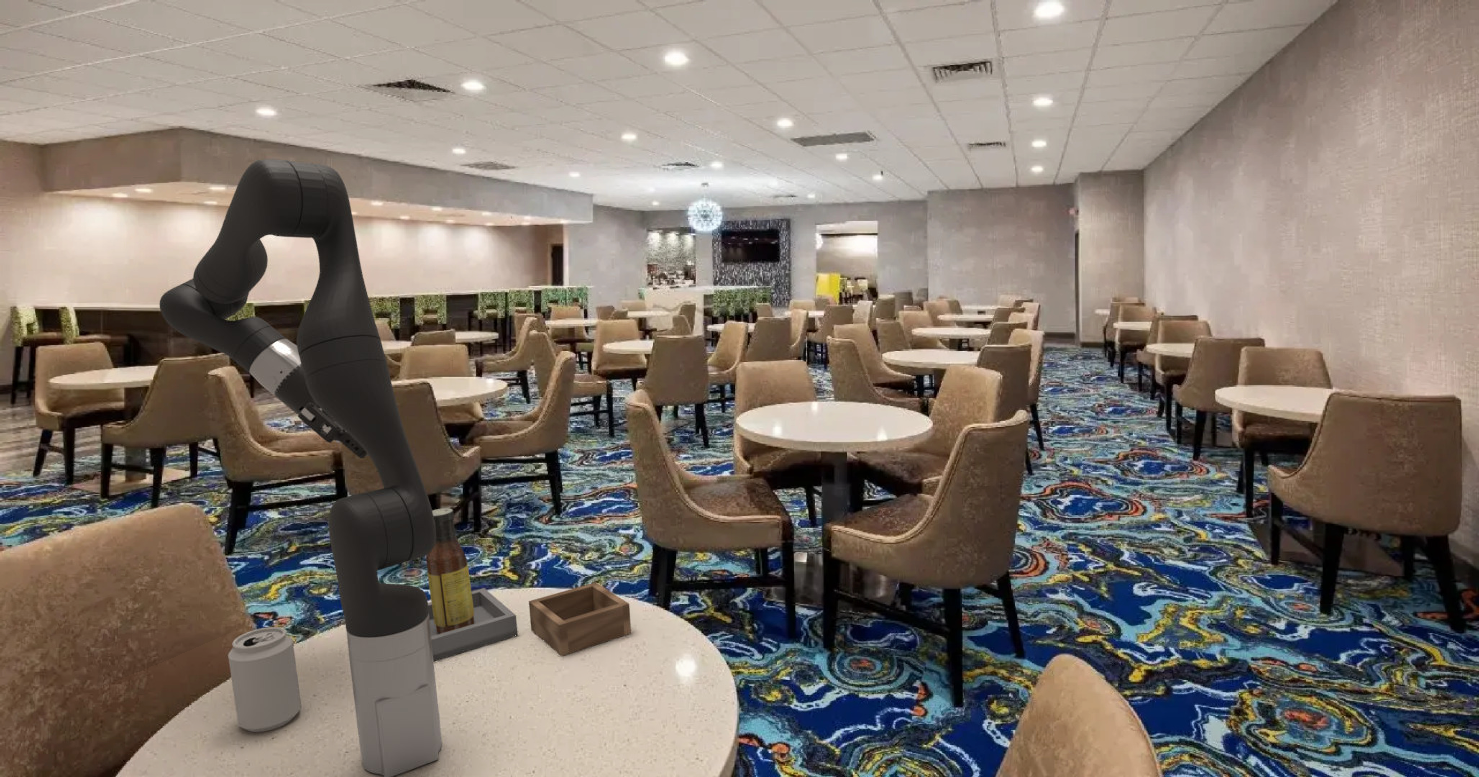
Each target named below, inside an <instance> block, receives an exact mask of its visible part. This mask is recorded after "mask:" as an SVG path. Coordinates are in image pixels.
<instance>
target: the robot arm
mask: <svg viewBox="0 0 1479 777" xmlns="http://www.w3.org/2000/svg"><path fill="white" fill-rule="evenodd" d="M352 213H353V212H352V208H351V202H350V199H349V194H348V191H347V188H346V185H345V183H344V180H343V179H342V177H341V175H340V174H339V172H338V171H336V170H335V169H334V168H333V167H331V166H328V165H324V164H321V163H320V164H319V163H311V162H304V161H294V160H286V159H285V160H284V159H278V158H277V159H276V158H275V159H274V158H265V159H257V160H255V161H254V162H252V163H251V164H250V165H248V167H247V168H246V169H245V171H244V172H243V174H242V175H241V178H240V179H239V181H238V184H237V187H236V188H235V191H234V193H233V196H232V199H231V201H230V204H229V207H228V209H227V211H226V214H225V216H224V220H223V222H222V225H221V228H220V231H219V232H218V235H217V237H216V240H215V241H214V243H213V244H212V245H211V247H209V249H208V250H207V252H206V253H205V254H204V256H202V257H201V259H200V260H199V262H198V263H197V265H196V267H195V268H194V272H193V276H192V278H190V279H189V280H187V281H185V282H183V283H180V284H179V285H177V286H174V287H172V288H171V289H169V290H167V291H166V292H164V293H163V294H162V296H161V298H160V300H159V310H160V314H161V315H162V317H163V319H164V320H165V322H167V324H168V325H169V326H170V327H172V328H173V330H175V331H176V332H178V333H180V334H182V335H183V336H185V337H187V338H190V339H192V340H194V341H196V342H198V343H200V344H202V345H204V346H207V347H209V348H210V349H213V350H215V351H218V352H220V353H222V354H224V355H226V356H228V357H229V358H230V359H232V360H233V361H234V362H235V363H237V364H238V365H239V366H240V367H241V368H243V369H244V370H245V371H247V372H248V373H249V374H250V375H251V376H252V377H253V378H254V379H255V380H256V381H257V382H258V383H259V384H260V385H261V386H262V387H264V389H265V390H267V391H268V392H269V393H271V394H272V395H273V396H274V397H276V398H277V399H278V400H279V401H280V402H281V403H283V404H284V405H286V407H288V408H289V409H290V410H291V411H292V412H293V413H295V414H297V417H298V418H299V420H301V422H303V423H304V424H305V425H306V426H308V427H309V428H310V429H311V430H312V431H313V432H315V433H316V434H317V435H318V436H319V437H321V438H322V439H323V440H324V441H325V442H326V443H329V444H330V443H331V444H332V443H333V441H334V442H335V443H337V444H342V445H343V446H344V447H346V448H347V449H348V450H350V451H351V452H352V453H353V454H355V455H356V456H357V457H358V458H360V459H364V458H366V457H369V458H370V459H371V461H372V463H373V465H374V467H375V469H376V471H377V472H378V475H379V478H380V480H381V481H380V482H381V483H382V486H383V488H381V489H376V490H375V489H374V490H370V491H366V492H363V493H358V494H354V495H353V494H352V495H349V496H346V497H341V498H339V499H337V500H335V501H334V503H333V504H332V506H331V508H330V511H329V513H328V535H329V542H330V547H331V552H332V557H333V562H334V563H333V564H334V568H335V573H336V580H337V586H338V593H339V599H340V605H341V608H342V612H343V617H344V618H343V619H344V622H345V632H346V640H347V650H348V658H349V665H350V666H349V667H350V675H351V684H352V691H353V700H354V709H355V719H356V725H357V726H356V727H357V733H358V734H357V735H358V740H359V741H358V742H359V748H360V759H361V765H362V767H363V769H365V770H366V771H367V772H370V773H372V774H375V775H376V774H377V775H381V776H382V777H395V776H398V775H401V774H404V773H406V772H408V771H411V770H414V769H417V768H420V767H421V766H425V765H427V764H430V763H433V762H435V761H437V760H438V759H439V753H440V750H441V749H442V745H443V742H442V741H443V740H442V732H441V731H442V730H441V729H442V728H441V721H440V720H441V719H440V711H439V702H438V693H437V691H438V690H437V682H436V671H435V661H434V660H433V651H432V641H431V630H430V620H429V610H428V603H429V602H428V596H427V594H426V593H425V591H424V590H422V588H419V587H417V586H414V585H410V584H409V585H408V584H398V583H384V582H383V583H382V582H380V581H379V576H378V571H380V570H383V569H384V570H385V569H386V568H390V567H393V566H396V565H400V564H403V563H406V562H410V561H413V560H416V559H420V558H423V557H426V555H427V554H428V553H430V552H431V550H432V549H433V547H434V544H435V538H436V530H435V521H434V516H433V512H432V511H433V509H432V506H431V502H430V500H429V499H430V498H429V496H428V494H427V493H428V492H427V490H426V487H425V484H424V482H423V479H422V477H421V474H420V471H419V468H418V466H417V463H416V461H415V458H414V454H413V451H412V449H411V447H410V444H409V441H408V438H407V435H406V432H405V429H404V424H403V422H402V419H401V415H400V411H399V407H398V404H397V399H396V395H395V392H394V388H393V383H392V380H391V379H392V378H391V376H390V371H389V366H388V362H387V359H386V355H385V351H384V347H383V344H382V340H381V337H380V333H379V331H378V327H377V324H376V321H375V318H374V313H373V310H372V307H371V303H370V299H369V295H368V291H367V286H366V283H365V280H364V275H363V271H362V265H361V259H360V254H359V249H358V244H357V243H358V242H357V236H356V230H355V225H354V218H353V214H352ZM266 236H275V237H282V238H304V239H305V238H306V239H308V238H309V239H312V240H313V241H314V244H315V246H316V251H317V256H318V263H319V274H318V279H317V283H316V286H315V288H314V291H313V294H312V297H311V298H310V300H309V302H308V304H307V307H306V309H305V311H304V314H303V316H302V319H301V321H300V324H299V326H298V331H297V333H296V344H295V343H293V342H292V341H290V340H289V339H288V338H286V337H285V336H283V335H282V334H281V333H280V332H279V331H278V330H277V329H275V328H274V326H271V324H270V323H268V322H267V321H265V320H264V319H263V318H261V317H259V316H249V317H245V318H241V319H240V318H239V319H237V320H229V319H228V318H230V317H232V316H234V315H235V314H237V313H238V312H239V311H240V310H242V309H243V308H244V307H245V305H246V304H247V302H248V299H249V298H248V297H249V294H250V292H251V291H252V290H253V289H254V288H255V286H256V285H257V284H258V283H259V282H260V281H261V280H262V279H263V277H264V275H265V274H266V271H267V267H268V252H267V250H266V247H265V245H264V243H263V242H262V240H261V239H263V238H264V237H266ZM227 319H228V320H227Z"/></svg>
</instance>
